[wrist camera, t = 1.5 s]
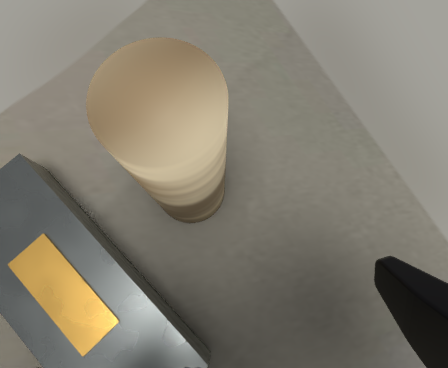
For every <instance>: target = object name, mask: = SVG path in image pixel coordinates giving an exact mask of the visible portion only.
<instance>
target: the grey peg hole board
mask: <svg viewBox="0 0 448 368" xmlns="http://www.w3.org/2000/svg"><path fill="white" fill-rule="evenodd" d="M0 313H1V314H2V315H3V317H4V318H5V319H6V320H7V322H8V323H9V324H10V326H11V327H12V328H13V329H14V331H15V332H16V333H17V334H18V336H19V337H20V338H21V340H22V341H23V342H24V343H25V345H26V346H27V347H28V348H29V350H30V351H31V352H32V354H33V355H34V356H35V357H36V359H37V360H38V361H39V362H40V364H41V365H42V366H43V368H207V367H208V366H209V359H210V351H209V350H208V349H207V348H206V347H205V345H204V344H203V343H202V342H201V341H200V340H199V339H198V338H197V337H196V335H195V334H194V333H193V332H192V331H191V330H190V329H189V328H188V327H187V325H186V324H185V323H184V322H183V321H182V320H181V319H180V318H179V317H178V315H177V314H176V313H175V312H174V311H173V310H172V309H171V308H170V307H169V305H168V304H167V303H166V302H165V301H164V300H163V299H162V298H161V297H160V295H159V294H158V293H157V292H156V291H155V290H154V289H153V288H152V287H151V285H150V284H149V283H148V282H147V281H146V280H145V279H144V278H143V277H142V275H141V274H140V273H139V272H138V271H137V270H136V269H135V268H134V267H133V265H132V264H131V263H130V262H129V261H128V260H127V259H126V258H125V257H124V255H123V254H122V253H121V252H120V251H119V250H118V249H117V248H116V247H115V245H114V244H113V243H112V242H111V241H110V240H109V239H108V238H107V237H106V235H105V234H104V233H103V232H102V231H101V230H100V229H99V228H98V227H97V225H96V224H95V223H94V222H93V221H92V220H91V219H90V218H89V217H88V215H87V214H86V213H85V212H84V211H83V210H82V209H81V208H80V207H79V205H78V204H77V203H76V202H75V201H74V200H73V199H72V198H71V197H70V195H69V194H68V193H67V192H66V191H65V190H64V189H63V188H62V187H61V185H60V184H59V183H58V182H57V181H56V180H55V179H54V178H53V177H52V176H51V174H50V173H49V172H48V171H47V170H46V169H45V168H44V167H42V166H40V165H38V164H37V163H35V162H33V161H31V160H30V159H28V158H26V157H25V156H23V155H21V154H18V155H17V156H16V157H15V158H13V159H12V160H11V161H10V162H9V163H7V164H6V165H5V166H4V167H2V168H1V169H0Z"/></svg>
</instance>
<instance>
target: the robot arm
mask: <svg viewBox="0 0 448 368" xmlns="http://www.w3.org/2000/svg"><path fill="white" fill-rule="evenodd" d="M374 281H375V285H376V288H377V290H378V291H379V293H380V295H381V297H382V298H383V300H384V302H385V304H386V305H387V307H388V309H389V310H390V312H391V314H392V316H393V317H394V319H395V321H396V322H397V324H398V326H399V328H400V329H401V331H402V333H403V334H404V336H405V338H406V339H407V341H408V342H409V344H410V345H411V347H412V348H413V350H414V351H415V352H416V354H417V355H418V356H419V358H420V359H421V361H422V362H423V363H424V365H425V366H426V368H448V283H446V282H444V281H442V280H440V279H438V278H436V277H434V276H432V275H430V274H428V273H426V272H424V271H422V270H419V269H417V268H415V267H413V266H411V265H409V264H407V263H405V262H403V261H401V260H399V259H397V258H395V257H392V256H387V257H384V258H381V259H378V260H377V261H376V262H375V276H374ZM38 368H39V367H38Z"/></svg>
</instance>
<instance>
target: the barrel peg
mask: <svg viewBox="0 0 448 368" xmlns="http://www.w3.org/2000/svg"><path fill="white" fill-rule="evenodd" d="M86 109H87V116H88V120H89V124H90V126H91V129H92V131H93V133H94V134H95V136H96V138H97V139H98V140H99V142H100V143H101V144H102V145H103V146H104V147H105V148H106V149H107V150H108V151H109V153H110V154H111V155H112V156H113V157H114V158H115V159H116V160H117V161H118V162H119V163H120V164H121V165H122V166H123V167H124V168H125V169H126V170H127V171H128V172H129V174H130V175H131V176H132V177H133V178H134V179H135V180H136V181H137V182H138V183H139V184H140V185H141V186H142V187H143V188H144V189H145V190H146V191H147V192H148V193H149V195H150V196H151V197H152V198H153V199H154V200H155V201H156V202H157V203H158V204H159V205H160V206H161V207H162V208H163V209H164V210H165V211H166V212H167V213H168V214H169V215H170V216H171V217H173V218H174V219H176V220H178V221H181V222H186V223H195V222H200V221H203V220H205V219H207V218H209V217H210V216H212V215H213V214H214V213H215V212H216V211H217V210H218V208H219V207H220V205H221V203H222V201H223V197H224V189H225V166H226V143H227V120H228V90H227V85H226V81H225V79H224V76H223V74H222V72H221V70H220V68H219V67H218V66H217V64H216V63H215V62H214V60H213V59H212V58H211V57H210V56H209V55H208V54H206V53H205V52H204V51H202V50H201V49H199V48H198V47H196V46H194V45H192V44H190V43H187V42H185V41H181V40H178V39H172V38H149V39H143V40H139V41H136V42H133V43H130V44H128V45H126V46H124V47H122V48H120V49H119V50H117V51H116V52H114V53H113V54H112V55H110V56H109V57H108V58H107V59H106V60H105V61H104V62H103V63H102V64H101V66H100V67H99V68H98V70H97V71H96V73H95V74H94V76H93V78H92V80H91V83H90V86H89V89H88V93H87V101H86Z"/></svg>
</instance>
